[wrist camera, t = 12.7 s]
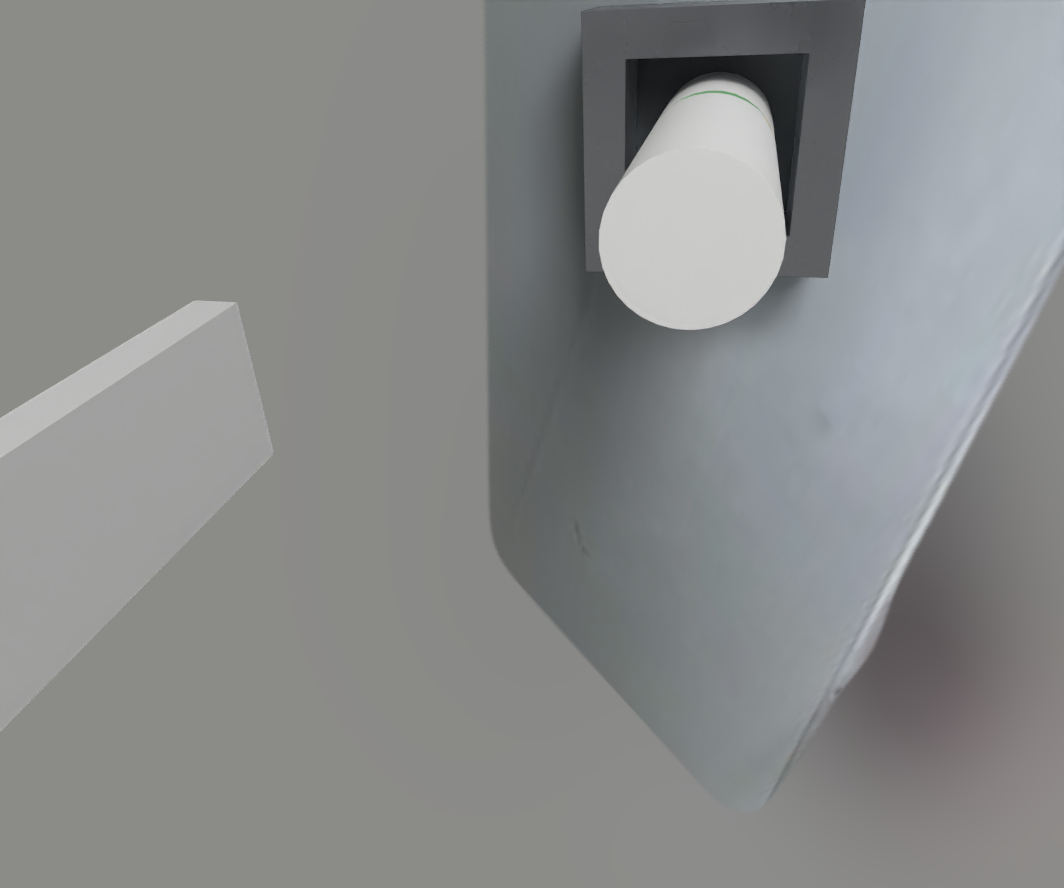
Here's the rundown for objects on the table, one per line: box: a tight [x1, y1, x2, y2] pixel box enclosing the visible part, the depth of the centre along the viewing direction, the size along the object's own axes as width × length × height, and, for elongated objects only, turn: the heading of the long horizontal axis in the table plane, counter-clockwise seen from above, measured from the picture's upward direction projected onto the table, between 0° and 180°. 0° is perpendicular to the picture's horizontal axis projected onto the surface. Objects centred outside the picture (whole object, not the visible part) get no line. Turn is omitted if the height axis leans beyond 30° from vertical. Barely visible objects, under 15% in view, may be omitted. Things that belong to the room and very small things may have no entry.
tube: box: [599, 72, 786, 330], centre depth 25 cm, size 4×4×15 cm
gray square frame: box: [581, 0, 866, 278], centre depth 30 cm, size 9×9×4 cm
